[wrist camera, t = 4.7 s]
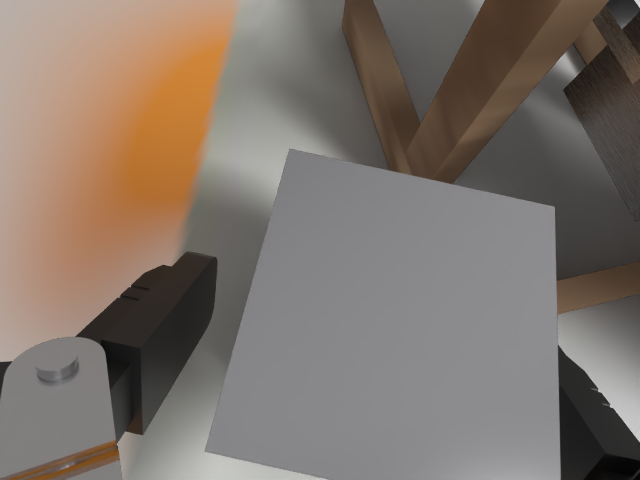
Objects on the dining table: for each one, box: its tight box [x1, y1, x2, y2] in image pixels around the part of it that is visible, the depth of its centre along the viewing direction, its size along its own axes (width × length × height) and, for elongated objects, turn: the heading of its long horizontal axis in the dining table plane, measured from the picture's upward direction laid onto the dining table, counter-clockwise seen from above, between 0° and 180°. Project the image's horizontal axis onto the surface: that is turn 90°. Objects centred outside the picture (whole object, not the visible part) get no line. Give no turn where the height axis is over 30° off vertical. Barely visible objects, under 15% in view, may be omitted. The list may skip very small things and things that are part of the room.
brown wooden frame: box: [342, 0, 640, 314], centre depth 13 cm, size 18×15×12 cm
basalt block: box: [205, 149, 561, 480], centre depth 10 cm, size 4×4×10 cm
